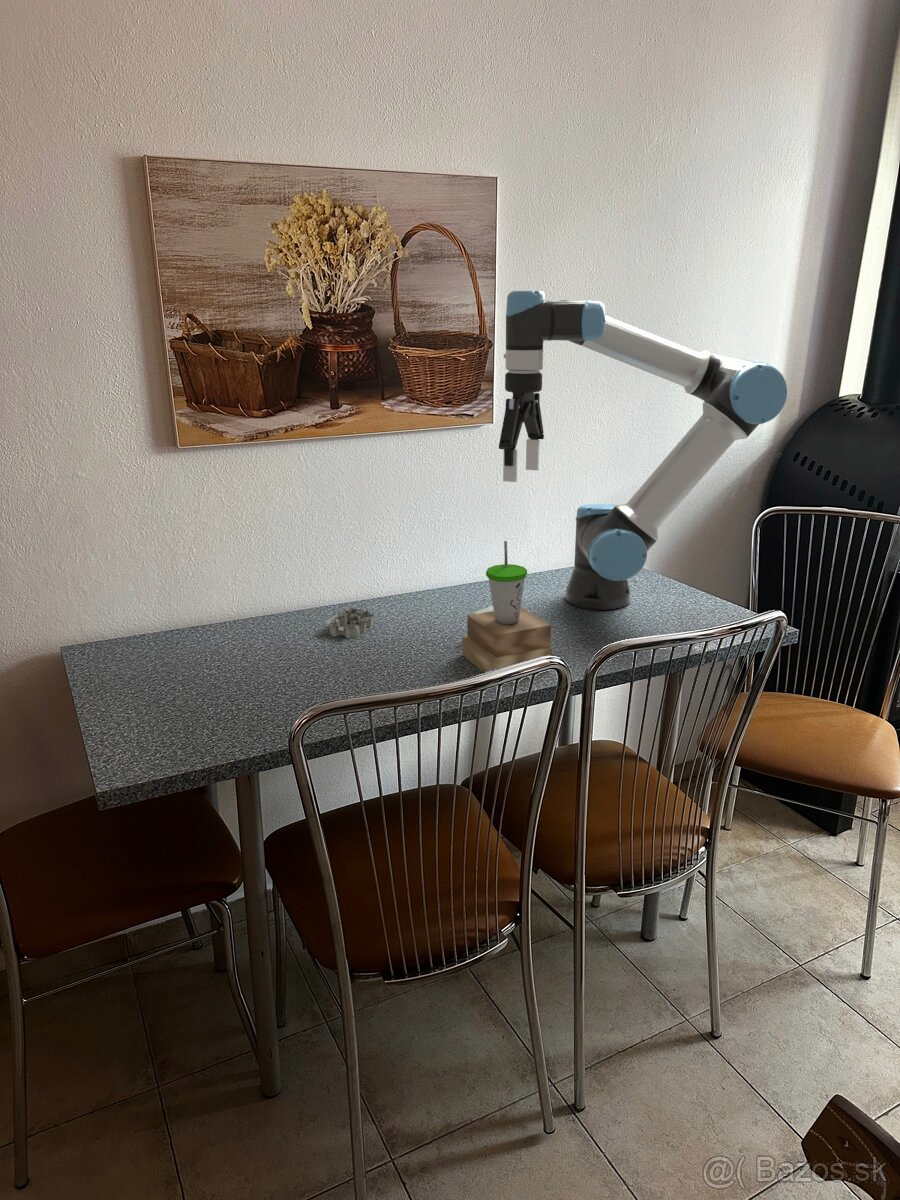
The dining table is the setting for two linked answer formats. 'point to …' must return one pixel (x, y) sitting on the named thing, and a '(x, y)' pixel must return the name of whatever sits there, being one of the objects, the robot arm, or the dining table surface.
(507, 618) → the cup
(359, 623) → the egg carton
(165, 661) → the dining table surface
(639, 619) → the dining table surface
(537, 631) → the tower top
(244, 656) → the dining table surface
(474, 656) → the block
